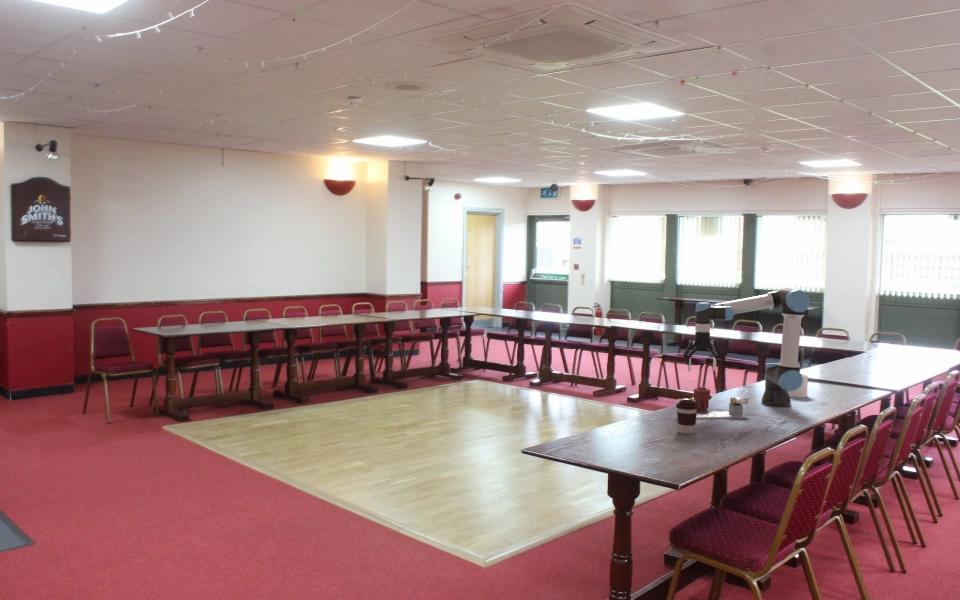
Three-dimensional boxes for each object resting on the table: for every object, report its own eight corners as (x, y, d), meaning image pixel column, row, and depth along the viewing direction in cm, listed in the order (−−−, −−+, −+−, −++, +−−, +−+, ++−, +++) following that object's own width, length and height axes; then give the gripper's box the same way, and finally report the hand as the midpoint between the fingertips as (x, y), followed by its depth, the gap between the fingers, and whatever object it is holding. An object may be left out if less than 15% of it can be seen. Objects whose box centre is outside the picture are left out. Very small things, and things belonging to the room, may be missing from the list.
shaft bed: (742, 413, 396) (742, 394, 395) (751, 418, 384) (751, 399, 383) (674, 414, 395) (674, 395, 394) (681, 419, 383) (681, 400, 382)
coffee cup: (701, 432, 356) (701, 400, 355) (690, 436, 349) (691, 404, 348) (682, 428, 363) (683, 398, 362) (671, 432, 356) (672, 401, 355)
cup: (781, 395, 441) (782, 375, 440) (791, 393, 449) (791, 373, 448) (801, 398, 432) (802, 378, 432) (810, 395, 440) (811, 375, 439)
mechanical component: (710, 408, 407) (712, 412, 398) (691, 408, 409) (692, 412, 400) (710, 386, 406) (712, 389, 397) (691, 385, 408) (692, 389, 399)
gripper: (723, 330, 405) (722, 369, 406) (677, 330, 404) (676, 369, 405) (728, 332, 397) (727, 371, 399) (681, 332, 396) (680, 372, 398)
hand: (701, 371), depth 402 cm, fingers open, 13 cm apart
